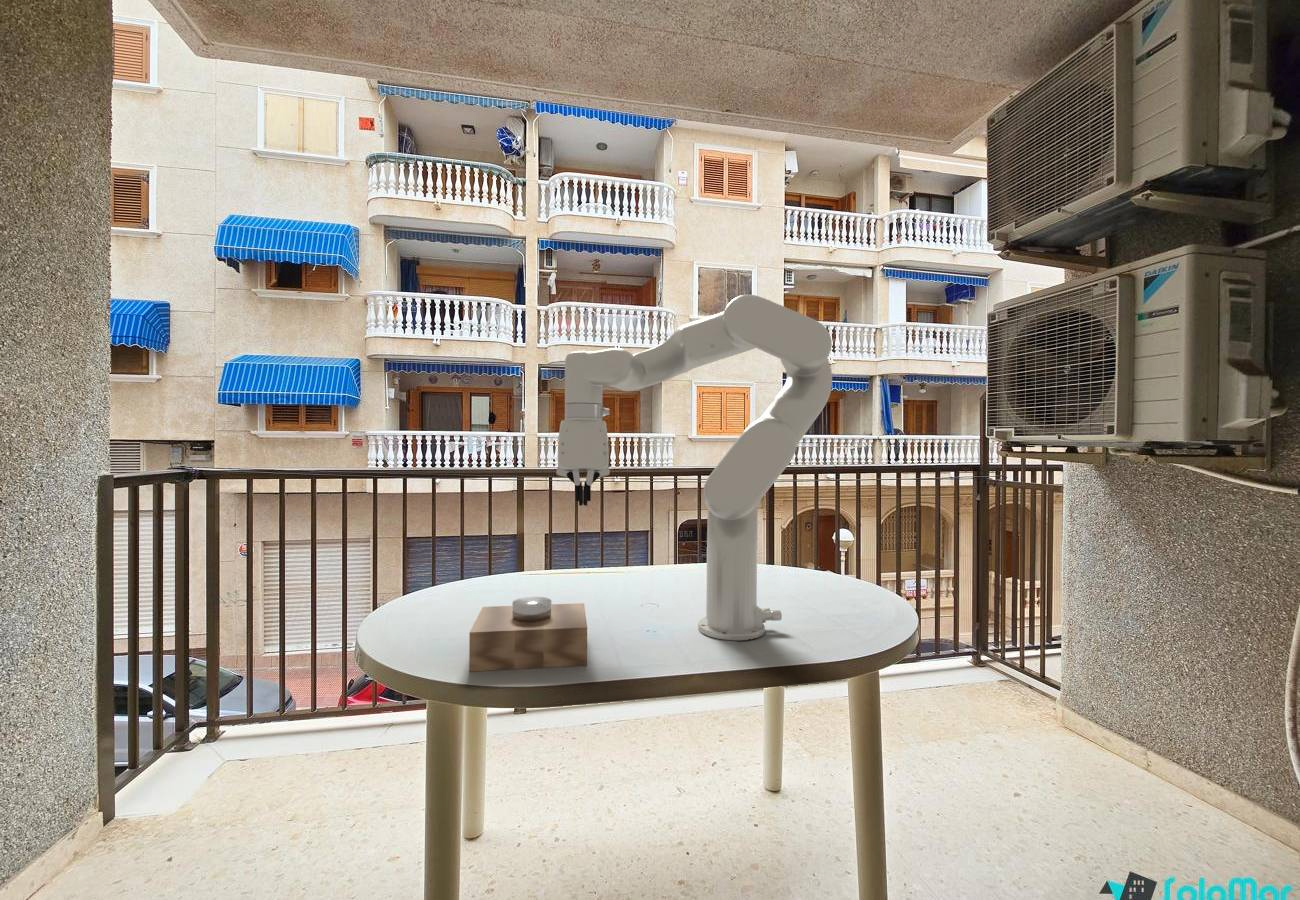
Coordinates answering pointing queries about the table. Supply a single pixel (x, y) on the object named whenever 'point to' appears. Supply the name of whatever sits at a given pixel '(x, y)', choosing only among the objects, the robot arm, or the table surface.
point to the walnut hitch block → (528, 639)
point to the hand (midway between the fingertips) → (583, 504)
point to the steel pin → (531, 609)
